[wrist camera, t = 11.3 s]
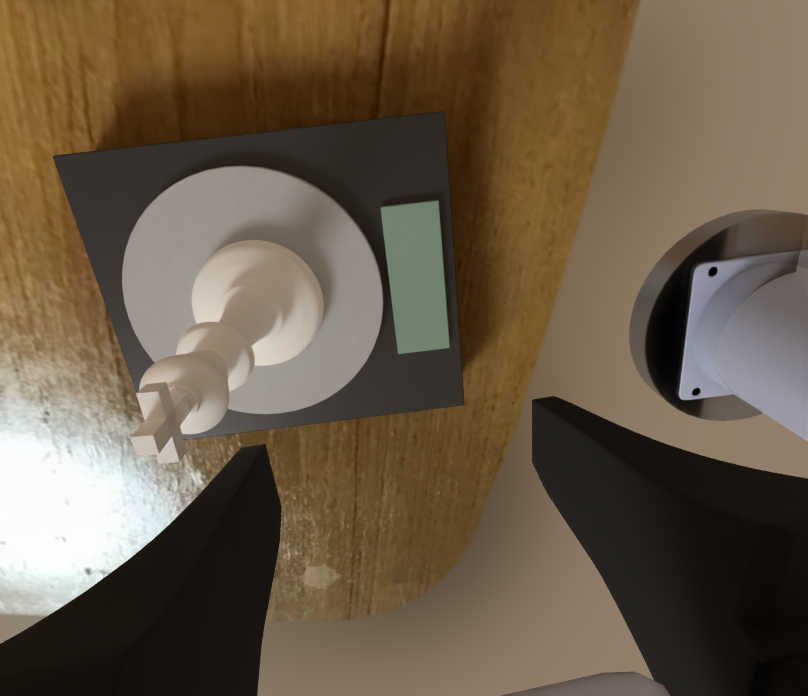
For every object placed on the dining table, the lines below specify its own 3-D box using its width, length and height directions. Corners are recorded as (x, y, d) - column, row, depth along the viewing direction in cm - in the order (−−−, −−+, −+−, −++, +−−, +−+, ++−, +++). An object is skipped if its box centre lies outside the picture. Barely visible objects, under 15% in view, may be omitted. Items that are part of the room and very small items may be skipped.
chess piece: (211, 366, 19) (60, 555, 10) (181, 245, 17) (-39, 339, 8) (331, 355, 19) (292, 531, 10) (313, 233, 18) (246, 312, 8)
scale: (436, 117, 19) (446, 109, 16) (455, 381, 24) (466, 411, 21) (91, 156, 19) (41, 155, 16) (176, 416, 23) (149, 450, 21)
